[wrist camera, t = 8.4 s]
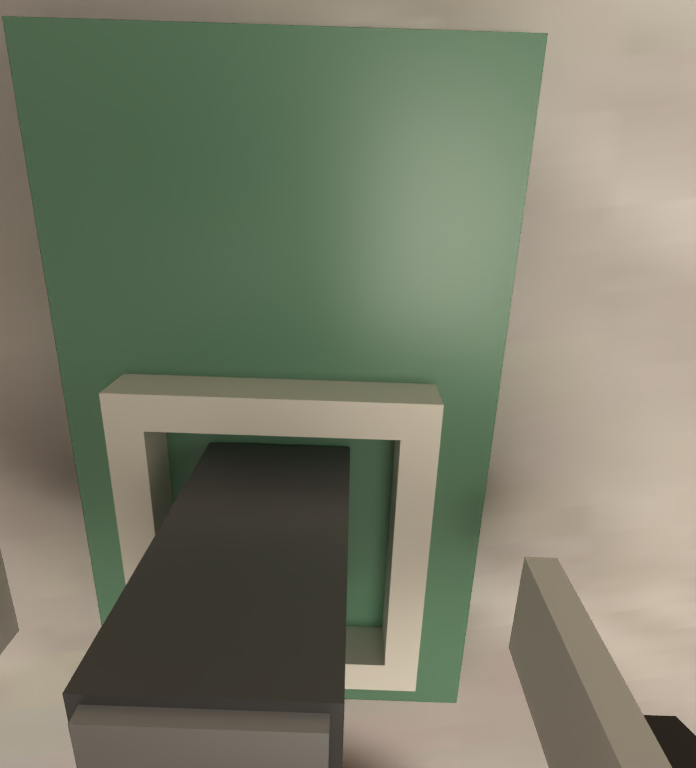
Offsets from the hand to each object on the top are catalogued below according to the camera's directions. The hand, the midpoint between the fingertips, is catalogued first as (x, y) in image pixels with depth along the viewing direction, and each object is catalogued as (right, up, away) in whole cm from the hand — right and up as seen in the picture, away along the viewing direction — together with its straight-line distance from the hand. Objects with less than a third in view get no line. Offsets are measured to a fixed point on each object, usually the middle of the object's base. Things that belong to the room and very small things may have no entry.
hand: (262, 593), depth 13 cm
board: (0, +4, +4) cm, 5 cm away
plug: (0, +1, +3) cm, 3 cm away
